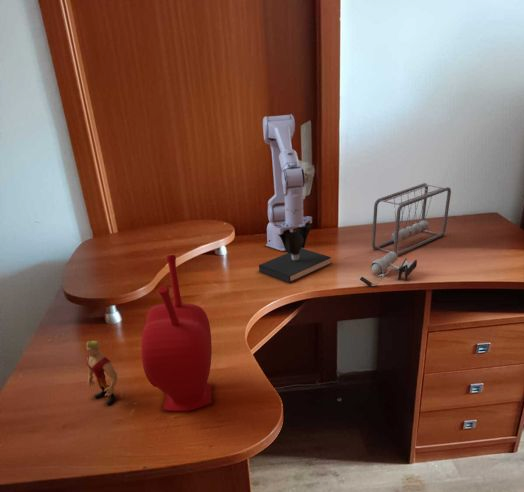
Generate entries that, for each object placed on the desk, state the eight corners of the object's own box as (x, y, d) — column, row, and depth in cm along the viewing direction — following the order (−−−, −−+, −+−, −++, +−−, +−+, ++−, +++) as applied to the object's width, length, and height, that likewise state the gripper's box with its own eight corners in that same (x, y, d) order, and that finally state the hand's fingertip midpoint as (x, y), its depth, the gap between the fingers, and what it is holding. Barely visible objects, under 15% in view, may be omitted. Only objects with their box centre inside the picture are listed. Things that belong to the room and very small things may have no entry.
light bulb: (306, 258, 169) (306, 229, 164) (300, 265, 165) (299, 235, 159) (290, 257, 171) (290, 228, 166) (284, 263, 167) (283, 233, 161)
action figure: (86, 395, 114) (69, 337, 106) (100, 387, 116) (84, 330, 108) (112, 410, 109) (97, 351, 101) (126, 402, 111) (111, 343, 103)
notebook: (259, 272, 168) (258, 264, 167) (300, 254, 179) (300, 247, 178) (289, 283, 159) (289, 275, 158) (331, 264, 170) (331, 257, 169)
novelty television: (163, 372, 120) (140, 252, 104) (217, 367, 120) (202, 247, 105) (153, 430, 102) (123, 295, 87) (217, 424, 103) (199, 289, 87)
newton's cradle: (421, 228, 195) (426, 181, 185) (445, 235, 188) (452, 186, 178) (370, 250, 179) (373, 199, 169) (395, 257, 172) (399, 205, 162)
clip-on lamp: (383, 300, 152) (419, 270, 159) (383, 283, 147) (420, 253, 155) (352, 286, 159) (388, 258, 166) (352, 269, 154) (389, 241, 162)
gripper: (286, 216, 152) (288, 259, 159) (319, 205, 160) (319, 246, 167) (270, 212, 156) (272, 254, 164) (302, 201, 165) (303, 241, 172)
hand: (295, 249), depth 166 cm, fingers closed on light bulb, 5 cm apart
